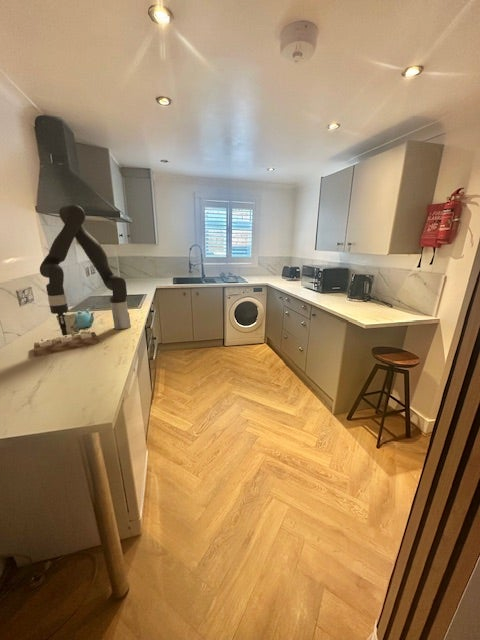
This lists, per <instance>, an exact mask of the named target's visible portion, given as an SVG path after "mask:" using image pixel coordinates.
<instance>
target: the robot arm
mask: <svg viewBox="0 0 480 640" xmlns="http://www.w3.org/2000/svg"><path fill="white" fill-rule="evenodd" d="M58 214H59V215H58V216H59V218H60V220H61V221H62V222H63V224H64V225H63V228H62V229H61V231H60V232H59V233H58V234H57V236H55V238H54V240H53V241H52V244H51V247H50V248H49V251H48V254H46V256H45V258H44V259H43V261H42V262H41V263H40V266H39V273H40V274H41V276H43V277H44V278H48V282H49V283H47V284H46V286H45V287H46V293H47V301H48V304H49V309H50V313H51V314H53V315H55V314H57V315H56V316H55V317H56V320H57V323H58V326H59V328H60V331H61V336H65V335H67V330H66V328H67V327H66V324H67V323H66V316H65V315H63V314H66V312H67V313H69V306H68V302H67V296H66V294H65V290H64V289H65V288H64V282H65V279H64V278H65V275H64V274H65V273H64V269H63V268H62V266H61V265H60V264H61V263H62V262H65V260H66V258H67V255H68V253H69V250H70V248H71V245H72V243H73V241H74V238H75V239H76V240H77V242H78V244H79V245H80V247H81V248H82V250H83V252H84V253H85V255H86V256H87V258H88V259H89V260H90V262H91V263H92V265H93V267H94V268H95V270H96V271H97V272H98V274H99V276H100V278H101V280H102V281H103V284H104V286H105V287H106V289H108V290H109V291H112V296H110V298H109V301H110V308H111V313H112V319H113V320H112V321H113V326H114V329H115V330H124V329H128V328H131V327H132V325H131V316H130V312H129V310H128V304H127V303H128V302H127V299H128V298H127V297H128V291H127V290H128V289H127V284H126V280H125V279H124V277H122V276H117V275H115V274H114V273H113V271H112V270H111V268H110V266H109V262H108V261H109V260H108V257H107V253H106V251H105V250H104V248H103V247H102V245H101V244H100V242H99V241H98V240H97V239H95V237H93V236H92V234H90V232H88V231H87V230H86V228H85V226H84V225H83V224H84V222H85V220H86V212H85V210H84V209H83V208H82V207H81V206H79V205H77V204H69V205H64V206H61V207H60V208H59V211H58Z"/></svg>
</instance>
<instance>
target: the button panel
mask: <svg viewBox="0 0 480 640" xmlns="http://www.w3.org/2000/svg"><path fill="white" fill-rule="evenodd" d="M90 332H91V331H90ZM91 335H92V337H90V338H85V339H81V337H80V334H75V335H71V336H72V339H73V341H70V342H64V343H61V338H53V339H51V340H52V344H53V345H49V346H44V347H40V345H39V341H38V342H33V353H34V357H38V356H43V355H48V354H52V353H57V352H63V351H67V350H71V349H76V347H77V348H81V347H87V346H89V345H95V344H99V343H100V341H99V338H98V335H97V334H96V331H92V332H91Z"/></svg>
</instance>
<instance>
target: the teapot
mask: <svg viewBox="0 0 480 640" xmlns="http://www.w3.org/2000/svg"><path fill="white" fill-rule="evenodd" d="M89 310H90V308H89V307H88V308H87V309H86V310H85V312H84V311H81V310H78V311H76V313H75V312H74V313H75V315H76V320H77V325H78V330H80V329H85V328H86V329H87V328H90V327H92V325H93V324H94V321H95V317H94V314H95V312H91V313H90V311H89ZM66 313H68V312H66ZM66 313H65V314H66Z"/></svg>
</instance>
